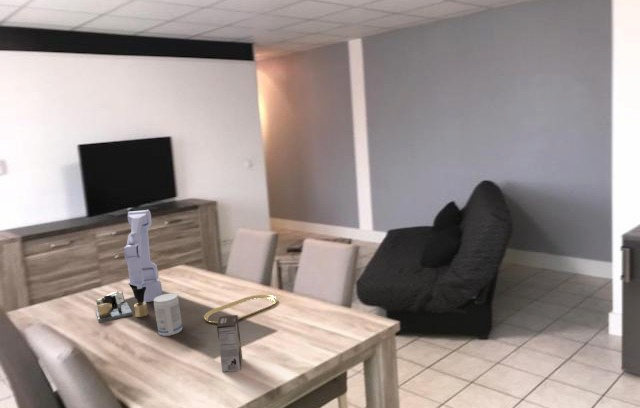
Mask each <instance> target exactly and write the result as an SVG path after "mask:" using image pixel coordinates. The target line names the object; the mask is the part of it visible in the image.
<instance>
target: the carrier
mask: <svg viewBox="0 0 640 408" xmlns="http://www.w3.org/2000/svg"><path fill="white" fill-rule="evenodd" d="M96 307H97V308H95V309H94V311H95V315H96V318H97V321H98V323H104V321H105V322H109V321H112V320H117V319H120V318H121V319H122V318H126V317H129V316H133V311H132V309H131V308H130V306H129V303H128V302H127V301H126V302H122V303H118V304H117V305H116V306H112V303H103V304H100V305H98V306H97V305H96ZM108 320H109V321H108Z"/></svg>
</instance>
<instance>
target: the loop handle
mask: <svg viewBox="0 0 640 408" xmlns="http://www.w3.org/2000/svg"><path fill="white" fill-rule="evenodd" d="M254 298H256V299H254ZM257 298H261V299H264V298H267V300H270V299H271V301H272V300H273V301H274V302H273V301H272V302H273V303H274V304H271V305H268V306H265V307H263V308H260V309H258V310H255V311H253V312H250V313H248V314H246V315H242V316H239V317H238V321H240V320H242V319H244V318H248V317H250V316H252V314H253V315H255V314H258V313H259V312H262V310H263V311H266V310H267V309H271V308H272V307H273V306H275V305H276V304H277V302H278V299H277V297H276V296H273V295H269V294H259V295H258V294H256V295H250V296H247V297H244V298H240V299H238V300H235V301H232V302H230V303H227V304H224V305H222V306H219V307H216V308H213V309H211V310H209V311H207V312H205V314H204V315H203V319H204V320H205V321H206V322H207V323H210V324H214V323H215V325H218V321H212V320H209V317H210V316H211V315H213V314H215V313H218V312H221V311H223V310H227V309H228V308H231V307H234V306H237V305H239V303H240V304H242V302H243V303H245V302H247V301H246V300H248V301H251V300H250V299H252V300H257ZM244 301H245V302H244ZM236 304H237V305H236ZM257 312H258V313H257ZM208 320H209V321H208Z"/></svg>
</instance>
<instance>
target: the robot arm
mask: <svg viewBox="0 0 640 408" xmlns="http://www.w3.org/2000/svg"><path fill="white" fill-rule="evenodd" d="M127 221H128V224H129V225H130V226H131V232H130V233H129V234H128V235H127V241H126V245H125V246H124V247H123V255H124V259H125V262H126V264H127V270H128V277H129V281H127V282H126V283H127V285H129V287H130V289H131V290H132V293H133V296H134V298H135V300H137V303H143V302H145V303H146V304H147V303H150V302H154V298H156V297H157V296H160V295H164V293H163V287H162V283H161V280H160V279H159V270H158V266H157V264H156V263H154V262H153V261H152V260H151V252H150V251H151V250H150V249H151V248H150V240H149V228H151V227H152V224H153V223H152V222H153V221H152V214H151V211H150V210H149V209H144V210H135V211H134V210H133V211H132V210H131V211H128V212H127Z"/></svg>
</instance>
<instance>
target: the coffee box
mask: <svg viewBox="0 0 640 408" xmlns="http://www.w3.org/2000/svg"><path fill="white" fill-rule="evenodd" d="M238 318H239V315H238V314H235V315H222V316H219V317H218V321H217V322H218V324H216V330H217V338H218V346H219V354H220V356H219V357H220V364H221V373H226V372H225V371H229V372H234V371H235V372H236V371H237V372H238V371H241V370H242V363H243V352H242V351H243V350H242V343H241V335H240V325H239V320H238Z"/></svg>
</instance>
